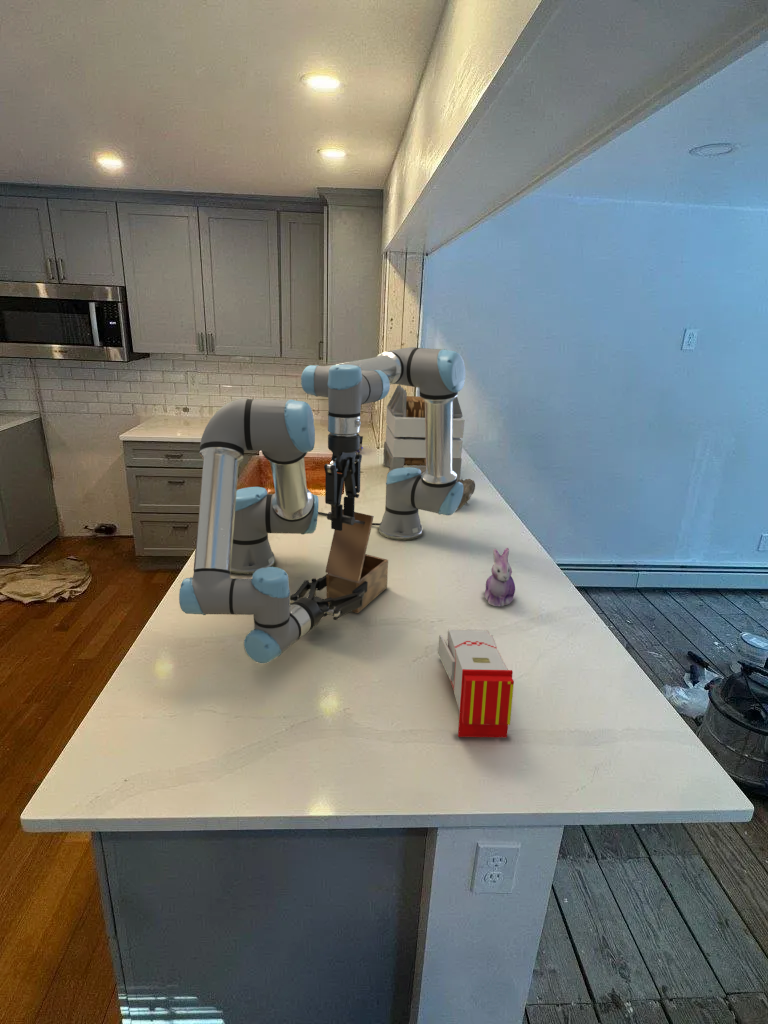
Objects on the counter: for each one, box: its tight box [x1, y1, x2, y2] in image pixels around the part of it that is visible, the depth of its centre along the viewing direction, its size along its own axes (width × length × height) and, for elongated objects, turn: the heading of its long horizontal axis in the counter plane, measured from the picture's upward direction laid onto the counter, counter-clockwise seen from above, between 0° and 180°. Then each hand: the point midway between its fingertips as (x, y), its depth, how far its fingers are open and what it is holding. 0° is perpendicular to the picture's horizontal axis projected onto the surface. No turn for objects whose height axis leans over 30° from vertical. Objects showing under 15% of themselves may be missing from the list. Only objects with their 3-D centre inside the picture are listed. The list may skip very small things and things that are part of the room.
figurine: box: [484, 547, 516, 607], centre depth 155 cm, size 9×10×15 cm
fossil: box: [457, 478, 476, 510], centre depth 232 cm, size 22×10×15 cm
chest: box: [325, 553, 389, 614], centre depth 154 cm, size 16×10×9 cm, turn 152°
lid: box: [325, 508, 375, 581], centre depth 142 cm, size 17×10×9 cm
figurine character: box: [356, 435, 364, 454], centre depth 309 cm, size 7×8×15 cm
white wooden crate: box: [383, 384, 465, 480], centre depth 268 cm, size 34×33×41 cm
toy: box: [437, 628, 515, 738], centre depth 117 cm, size 12×13×30 cm
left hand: (348, 581), depth 149 cm, fingers closed on chest, 10 cm apart
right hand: (342, 525), depth 141 cm, fingers open, 5 cm apart
